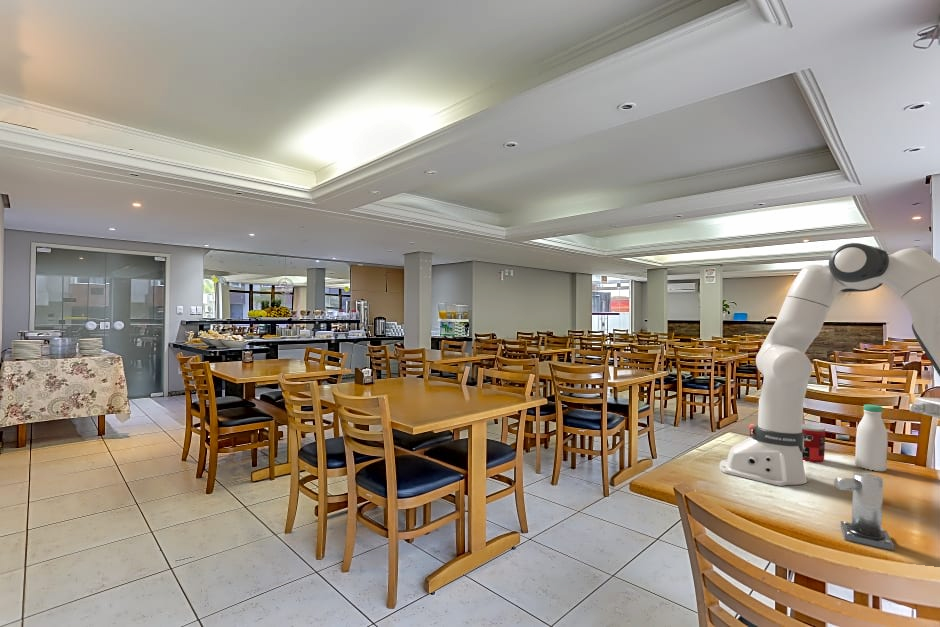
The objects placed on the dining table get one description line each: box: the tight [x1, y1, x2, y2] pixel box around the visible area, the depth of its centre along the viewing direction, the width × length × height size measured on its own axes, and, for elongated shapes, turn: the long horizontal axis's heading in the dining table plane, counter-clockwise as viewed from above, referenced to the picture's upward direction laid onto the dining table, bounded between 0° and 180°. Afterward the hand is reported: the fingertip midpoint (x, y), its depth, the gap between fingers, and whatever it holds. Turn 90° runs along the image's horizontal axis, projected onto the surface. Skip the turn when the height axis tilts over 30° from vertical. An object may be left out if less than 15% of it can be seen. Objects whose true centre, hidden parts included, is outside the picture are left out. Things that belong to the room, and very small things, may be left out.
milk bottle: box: [854, 403, 889, 472], centre depth 153 cm, size 8×8×20 cm
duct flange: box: [840, 520, 895, 551], centre depth 105 cm, size 8×8×2 cm
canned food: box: [802, 423, 826, 463], centre depth 161 cm, size 8×8×11 cm
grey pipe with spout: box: [833, 472, 884, 537], centre depth 105 cm, size 9×5×12 cm, turn 90°
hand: (932, 413), depth 104 cm, fingers open, 8 cm apart
